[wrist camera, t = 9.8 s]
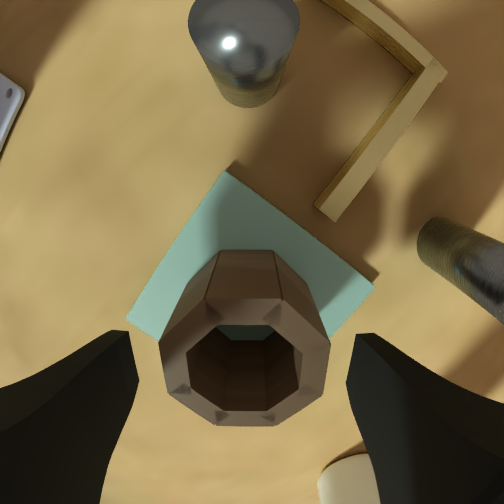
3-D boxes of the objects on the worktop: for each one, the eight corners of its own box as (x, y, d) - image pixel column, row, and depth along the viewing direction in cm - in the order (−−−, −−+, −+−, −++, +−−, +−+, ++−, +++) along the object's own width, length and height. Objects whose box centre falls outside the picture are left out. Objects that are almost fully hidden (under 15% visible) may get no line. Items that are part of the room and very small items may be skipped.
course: (179, 108, 11) (121, 72, 6) (367, -78, 8) (404, -141, 2) (419, 296, 14) (487, 365, 8) (541, 96, 10) (613, 94, 5)
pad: (128, 313, 14) (125, 318, 14) (225, 170, 12) (224, 170, 12) (263, 395, 15) (263, 401, 15) (371, 282, 14) (375, 286, 13)
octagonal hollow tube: (193, 353, 14) (174, 422, 10) (184, 249, 13) (151, 296, 8) (301, 353, 14) (317, 423, 10) (309, 249, 13) (336, 297, 8)
